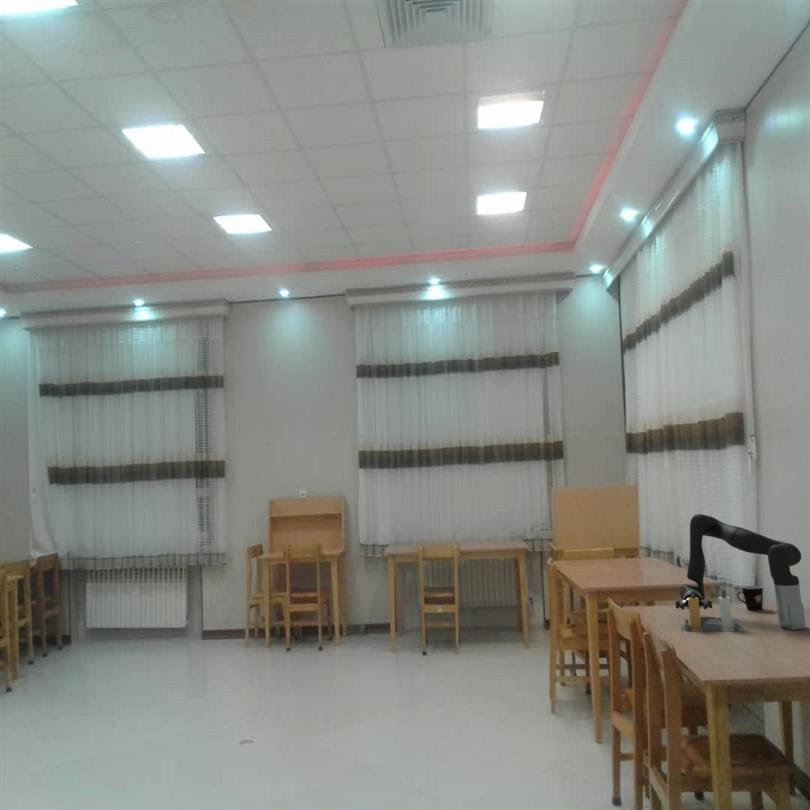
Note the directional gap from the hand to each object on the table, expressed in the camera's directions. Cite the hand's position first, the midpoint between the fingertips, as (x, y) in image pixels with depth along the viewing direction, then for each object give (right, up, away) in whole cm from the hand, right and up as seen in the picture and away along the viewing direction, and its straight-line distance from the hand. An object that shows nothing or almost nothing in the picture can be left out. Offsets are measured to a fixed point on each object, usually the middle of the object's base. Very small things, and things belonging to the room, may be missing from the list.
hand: (693, 607), depth 311 cm
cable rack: (+7, -9, -1) cm, 12 cm away
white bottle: (+13, -8, -3) cm, 15 cm away
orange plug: (+1, -9, +1) cm, 9 cm away
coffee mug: (+39, -10, +34) cm, 53 cm away
